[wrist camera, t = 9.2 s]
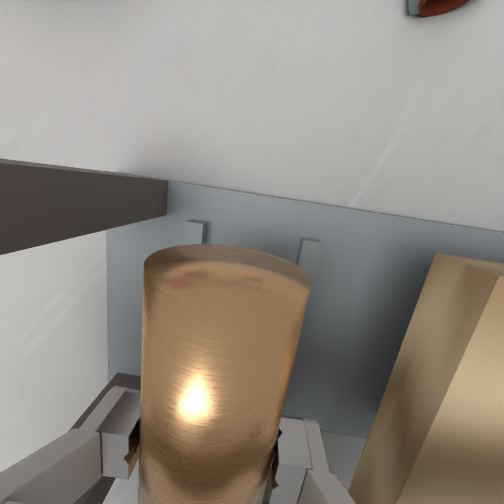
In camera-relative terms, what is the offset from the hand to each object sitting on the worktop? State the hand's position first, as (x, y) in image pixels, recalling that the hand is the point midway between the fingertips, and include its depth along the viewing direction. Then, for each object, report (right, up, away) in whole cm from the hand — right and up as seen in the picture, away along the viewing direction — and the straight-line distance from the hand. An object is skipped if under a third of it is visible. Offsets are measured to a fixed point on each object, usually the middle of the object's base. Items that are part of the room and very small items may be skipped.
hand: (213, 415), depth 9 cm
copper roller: (0, 0, -1) cm, 1 cm away
